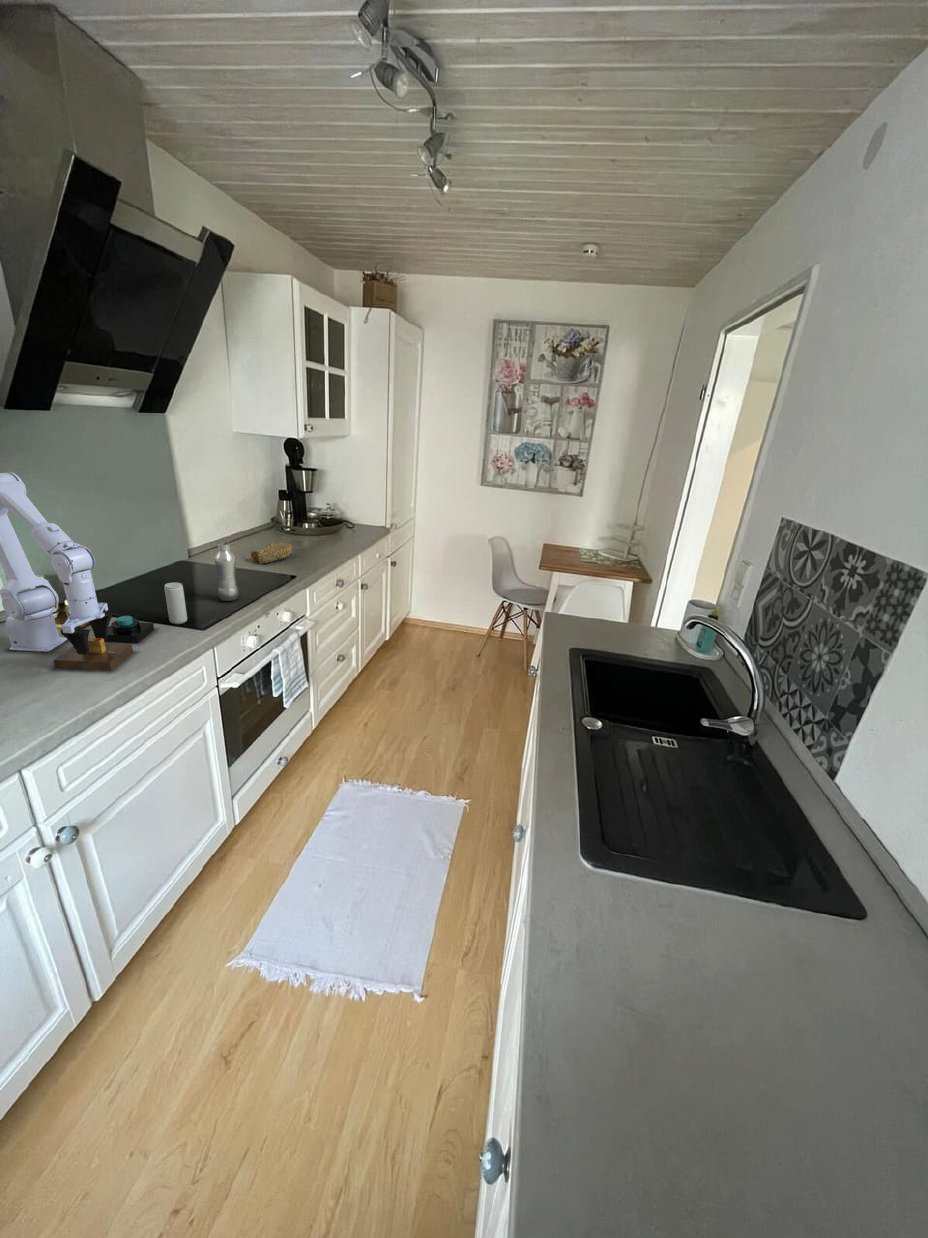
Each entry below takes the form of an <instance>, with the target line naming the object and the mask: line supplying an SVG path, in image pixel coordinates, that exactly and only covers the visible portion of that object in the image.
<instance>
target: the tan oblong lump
mask: <svg viewBox="0 0 928 1238" xmlns="http://www.w3.org/2000/svg"><path fill="white" fill-rule="evenodd" d="M293 551H294V548H293V545H292V544H290V543H288V542H287V543H285V542H273V543H269V544H266V545H264V546H263V547H260V548H259V549H257V550H253V551H251V552H250V557H251V558H252V560H254V561H256V562H258V563H259V565H264V564H268V563H272V562H276V561H280V560H284V559H286V558H287V557H289V556H290V555H291V554H292V553H293Z"/></svg>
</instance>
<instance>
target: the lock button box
mask: <svg viewBox="0 0 928 1238" xmlns="http://www.w3.org/2000/svg"><path fill="white" fill-rule="evenodd" d="M132 619H133V624H131V625H126V626H119V625H118V623H117V619H116V620H114V621H112V622H110V623H111V624H110V625H109V626H108V634H107V640H106V641H104V643H108V642H109V643H124V644H139V643H141V641H143V640H144V639H145V638H146V637H147V636H149V635H150V634H151V633H152V632H153V631H155V626H154V623H153V622H140V619H138V618H136V617H132Z"/></svg>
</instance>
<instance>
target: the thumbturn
mask: <svg viewBox="0 0 928 1238" xmlns="http://www.w3.org/2000/svg"><path fill="white" fill-rule="evenodd" d="M105 643H106V642H104V639H102V638H95V637H88V645H89V653H102V654H103V653H104V652H105V651H106V647H105Z"/></svg>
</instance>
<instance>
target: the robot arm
mask: <svg viewBox="0 0 928 1238" xmlns="http://www.w3.org/2000/svg"><path fill="white" fill-rule="evenodd" d="M25 484H26V483H24V482H23V480H22V479H21V478H20V477H19V475H17V473H15V472H12V471H5V472H0V566H1V568H2V569H3V571H4V574H5V576H6V578H7V581H6V583H5V584H4V585H3V586H2V588H0V599H1V605H2V608H3V610H4V612H5V613H6V614H7V615H8V617H7V618H6V619H5V631H6V633H7V637H8V639H9V643H10V647H9V651H21V652H22V651H23V652H40V653H41V652H44V653H48V652H51V651H52V650H54V649H56V648H57V647H59V646H60V645H62V644H63V643H65V642H67V641H68V642H69V643H70V644H71V645H72V647H73V646H74V648H75V650H76V651H77V653H78V654H83V655H87V654H88V653H89V645H88V638H89V637H90V631H91V629H92V631H93V632H92V633H93V635H94V638H102V639H104V641H106V640H107V634H108V627H109V626H110V623H111V619H112V617H113V612H110V611H109V607H108V603H107V602H98V598H97V593H96V590H95V584H94V579H93V574H92V570H93V569H94V568H95V566H96V559H95V556H94V555H93V553H92V551H91V550H90V549H89V548H88V547H86V546H85V545H81V544H79V543H77V542H74V541H73V539H72V538H71V537H69V536H68V534H67V533H66V532H65V531H63V529H62V528H61V527H60V526H59V525H58V524H56V523H53V522H48V521H47V520H46V518H45V517H44V516H43V515H42V514H41V512H40V511H39V510H38V509H37V507H36V506H35V505H34V503H33V502H32V501H31V500H30V498H29V497H28V496H27V495H28V493H27V487H26V485H25ZM9 512H11V513H12V514H13V515H14V516H15V517H16V518H17V519H19V520H20V521H21V522H22V523H23V524H24V525H25V526H27V528H29V529H30V530H31V531H32V532H31V535H30V536H31V539H32V540H33V541H34V542H35V543H36V545H38V546H39V547H40V548H41V549H42V550H43V551H44V552H45V553H46V554H47V555H48V557H50V558H51V561H50V564H51V567H52V568H53V571H55V573H56V574H57V577H58V579H59V581H60V582H62V585H63V589H64V593H65V597H66V601H67V606H68V610H69V614H70V615H68V617H67V619H66V620H65V622H64V623H63V624H61V629H60V630H59V631H60V635H61V636H59V631H58V626H57V623H56V619H55V616H54V612H56V608H57V607H58V606H59V601H60V598H59V594H58V593H57V591H56V590H55V589H54V588H53V586H52V585H51V584H50V582H49V580H48V579H46V578H43V577H39V576H37V575H35V573H34V571H33V569H32V567H31V564H30V562H29V560H28V558H27V556H26V553H25V551H24V549H23V547H22V544H21V542H20V541H19V537H18V536H17V533H16V531H15V528H14V527H13V525H12V522H11V520H10V518H9V515H8V513H9ZM86 623H89V625H90V627H91V629H89V628H83V627H81V626H83V625H84V624H86Z"/></svg>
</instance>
